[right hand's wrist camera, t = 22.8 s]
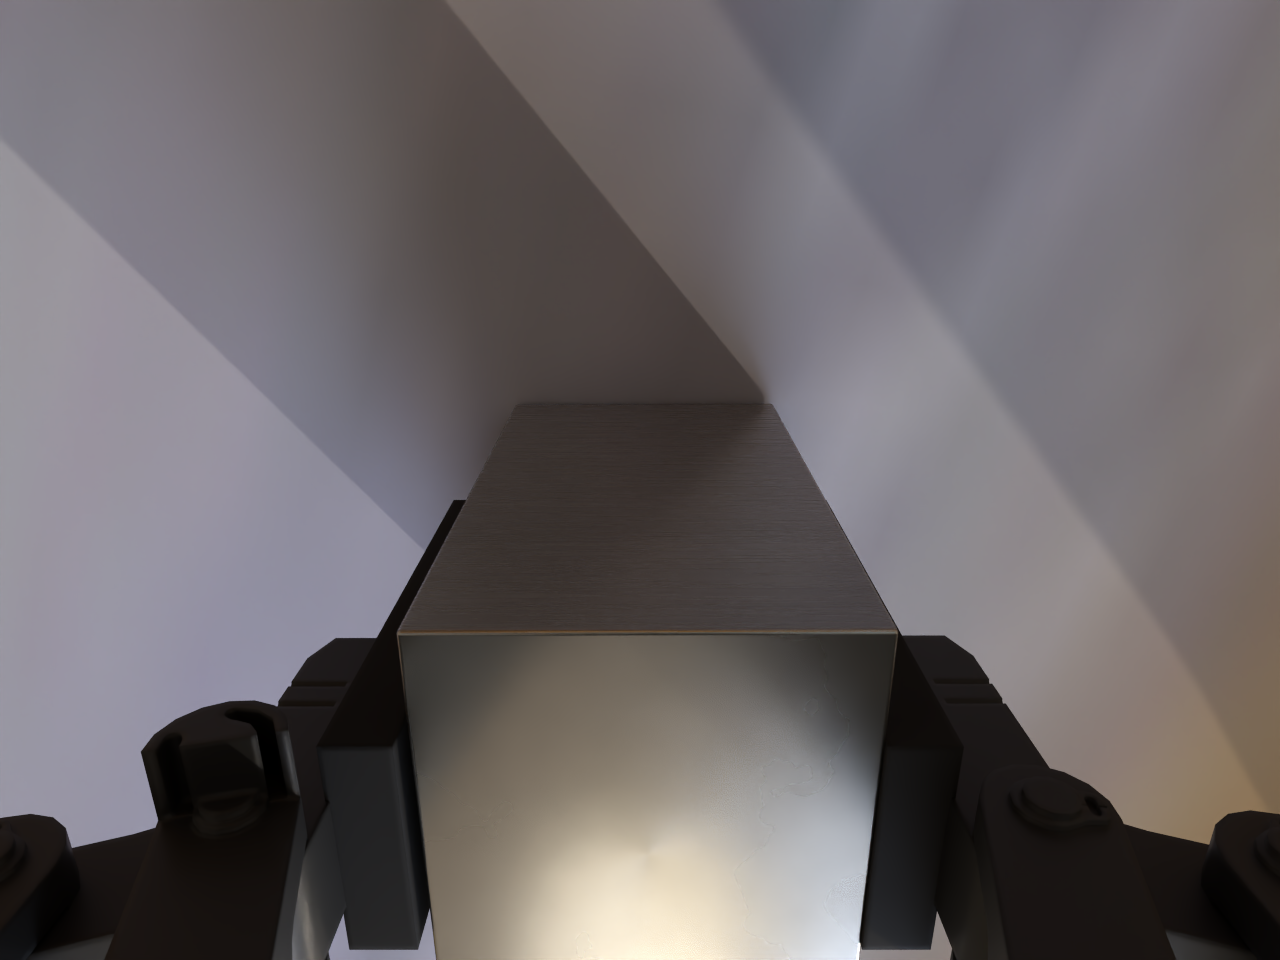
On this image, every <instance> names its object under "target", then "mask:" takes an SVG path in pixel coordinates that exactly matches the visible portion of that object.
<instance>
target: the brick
mask: <svg viewBox="0 0 1280 960" xmlns="http://www.w3.org/2000/svg"><path fill="white" fill-rule="evenodd" d="M897 639H898V630H897V628H896V626H895V624H894V622H893V620H892V619H891V617H890V615H889V613H888V611H887V610H886V608H885V606H884V604H883V602H882V601H881V599H880V597H879V595H878V593H877V592H876V590H875V588H874V586H873V584H872V583H871V581H870V579H869V577H868V575H867V574H866V572H865V570H864V568H863V566H862V565H861V563H860V561H859V559H858V557H857V556H856V554H855V552H854V550H853V548H852V547H851V545H850V543H849V541H848V539H847V538H846V536H845V534H844V532H843V530H842V529H841V527H840V525H839V523H838V521H837V520H836V518H835V516H834V514H833V512H832V511H831V509H830V507H829V505H828V503H827V502H826V500H825V498H824V496H823V494H822V493H821V491H820V489H819V487H818V485H817V484H816V482H815V480H814V478H813V476H812V475H811V473H810V471H809V469H808V467H807V466H806V464H805V462H804V460H803V458H802V457H801V455H800V453H799V451H798V449H797V448H796V446H795V444H794V442H793V440H792V439H791V437H790V435H789V433H788V431H787V430H786V428H785V426H784V424H783V422H782V421H781V419H780V417H779V415H778V413H777V412H776V410H775V408H774V406H773V405H772V404H596V405H516V406H515V408H514V410H513V412H512V414H511V416H510V418H509V419H508V421H507V423H506V425H505V427H504V429H503V431H502V433H501V435H500V437H499V438H498V440H497V442H496V444H495V446H494V448H493V450H492V452H491V454H490V456H489V458H488V459H487V461H486V463H485V465H484V467H483V469H482V471H481V473H480V475H479V477H478V478H477V480H476V482H475V484H474V486H473V488H472V490H471V492H470V494H469V496H468V498H467V499H466V501H465V503H464V505H463V507H462V509H461V511H460V513H459V515H458V517H457V518H456V520H455V522H454V524H453V526H452V528H451V530H450V532H449V534H448V536H447V537H446V539H445V541H444V543H443V545H442V547H441V549H440V551H439V553H438V555H437V557H436V558H435V560H434V562H433V564H432V566H431V568H430V570H429V572H428V574H427V576H426V577H425V579H424V581H423V583H422V585H421V587H420V589H419V591H418V593H417V595H416V597H415V598H414V600H413V602H412V604H411V606H410V608H409V610H408V612H407V614H406V616H405V617H404V619H403V621H402V623H401V625H400V627H399V629H398V631H397V641H398V649H399V657H400V665H401V674H402V682H403V690H404V698H405V707H406V715H407V723H408V731H409V740H410V748H411V756H412V764H413V772H414V781H415V789H416V797H417V805H418V814H419V822H420V830H421V838H422V847H423V855H424V863H425V871H426V880H427V888H428V896H429V904H430V913H431V921H432V929H433V937H434V946H435V954H436V960H859V956H860V947H861V937H862V929H863V921H864V912H865V904H866V896H867V887H868V879H869V871H870V863H871V854H872V846H873V838H874V829H875V821H876V813H877V805H878V796H879V788H880V780H881V771H882V763H883V755H884V747H885V739H886V731H887V722H888V714H889V706H890V697H891V689H892V681H893V672H894V664H895V656H896V647H897Z"/></svg>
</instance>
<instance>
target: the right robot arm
mask: <svg viewBox="0 0 1280 960" xmlns="http://www.w3.org/2000/svg"><path fill="white" fill-rule="evenodd" d="M465 501H466V500H454V501H453V503H452V504H451V506H450V508H449V510H448V512H447V513H446V515H445V517H444V519H443V520H442V522H441V524H440V526H439V528H438V529H437V531H436V533H435V535H434V537H433V538H432V540H431V542H430V544H429V546H428V547H427V549H426V551H425V553H424V554H423V556H422V558H421V560H420V562H419V563H418V565H417V567H416V569H415V571H414V572H413V574H412V576H411V578H410V580H409V581H408V583H407V585H406V587H405V588H404V590H403V592H402V594H401V596H400V597H399V599H398V601H397V603H396V605H395V606H394V608H393V610H392V612H391V613H390V615H389V617H388V619H387V621H386V622H385V624H384V626H383V628H382V630H381V631H380V633H379V635H378V637H377V638H335V639H334V640H333V641H331V642H330V643H328V644H327V645H326V646H324V647H323V648H321V649H320V650H319V651H317V652H316V653H314V654H313V655H312V656H310V657H309V658H307V660H306V661H305V663H304V664H303V666H302V667H301V669H300V670H299V672H298V673H297V675H296V676H295V678H294V679H293V680H292V685H291V687H288V688H287V689H286V691H285V692H284V694H283V695H282V697H281V698H280V700H279V701H278V706H275V705H271V704H267V703H263V702H259V701H229V702H225V703H220V704H216V705H212V706H208V707H203V708H201V709H198V710H196V711H194V712H191V713H189V714H187V715H184V716H182V717H180V718H178V719H175V720H174V721H173V722H171V723H170V724H168V725H167V726H166V727H164V728H163V729H161V730H160V731H159V732H157V733H156V734H154V735H153V737H152V738H151V739H150V741H149V742H148V743H147V745H146V746H145V747H144V748H143V750H142V751H141V754H142V758H143V762H144V766H145V770H146V774H147V778H148V782H149V786H150V790H151V793H152V797H153V801H154V805H155V809H156V813H157V817H158V823H157V825H156V828H153V829H150V830H146V831H143V832H140V833H136V834H133V835H128V836H124V837H119V838H115V839H110V840H106V841H101V842H97V843H93V844H88V845H84V846H79V847H75V848H72V847H71V844H70V841H69V837H68V834H67V831H66V828H65V827H64V826H63V825H62V824H60V823H59V822H58V821H57V820H56V819H54V818H53V817H47V816H41V815H34V814H27V815H19V816H12V817H4V818H0V960H330V958H329V952H328V951H329V949H330V946H331V943H332V941H333V938H334V936H335V933H336V931H337V928H338V926H339V923H340V921H341V918H342V916H343V913H344V919H345V925H346V931H347V937H348V943H349V950H418V947H419V944H420V940H421V937H422V933H423V930H424V926H425V923H426V919H427V916H428V912H429V909H430V904H429V896H428V888H427V880H426V871H425V863H424V855H423V847H422V838H421V830H420V822H419V814H418V805H417V797H416V789H415V781H414V772H413V764H412V756H411V748H410V740H409V731H408V723H407V715H406V707H405V698H404V690H403V682H402V674H401V665H400V657H399V649H398V641H397V631H398V629H399V627H400V625H401V623H402V621H403V619H404V617H405V616H406V614H407V612H408V610H409V608H410V606H411V604H412V602H413V600H414V598H415V597H416V595H417V593H418V591H419V589H420V587H421V585H422V583H423V581H424V579H425V577H426V576H427V574H428V572H429V570H430V568H431V566H432V564H433V562H434V560H435V558H436V557H437V555H438V553H439V551H440V549H441V547H442V545H443V543H444V541H445V539H446V537H447V536H448V534H449V532H450V530H451V528H452V526H453V524H454V522H455V520H456V518H457V517H458V515H459V513H460V511H461V509H462V507H463V505H464V503H465ZM826 502H827V501H826ZM827 503H828V502H827ZM828 505H829V504H828ZM829 507H830V506H829ZM830 509H831V508H830ZM831 511H832V510H831ZM832 512H833V511H832ZM833 514H834V513H833ZM834 516H835V515H834ZM835 518H836V517H835ZM836 520H837V518H836ZM837 521H838V520H837ZM838 523H839V522H838ZM839 525H840V524H839ZM840 527H841V526H840ZM841 529H842V527H841ZM842 530H843V529H842ZM843 532H844V531H843ZM844 534H845V533H844ZM845 536H846V535H845ZM846 538H847V536H846ZM847 539H848V538H847ZM848 541H849V540H848ZM849 543H850V542H849ZM850 545H851V544H850ZM851 547H852V545H851ZM852 548H853V547H852ZM853 550H854V549H853ZM854 552H855V551H854ZM855 554H856V552H855ZM856 556H857V554H856ZM857 557H858V556H857ZM858 559H859V558H858ZM859 561H860V560H859ZM860 563H861V561H860ZM861 565H862V563H861ZM862 566H863V565H862ZM863 568H864V567H863ZM864 570H865V569H864ZM865 572H866V570H865ZM866 574H867V572H866ZM867 575H868V574H867ZM868 577H869V576H868ZM869 579H870V578H869ZM870 581H871V579H870ZM871 583H872V581H871ZM872 584H873V583H872ZM873 586H874V585H873ZM874 588H875V586H874ZM875 590H876V588H875ZM876 592H877V590H876ZM877 593H878V592H877ZM878 595H879V594H878ZM879 597H880V595H879ZM880 599H881V597H880ZM881 601H882V599H881ZM882 602H883V601H882ZM883 604H884V603H883ZM884 606H885V604H884ZM885 608H886V606H885ZM886 610H887V608H886ZM887 611H888V610H887ZM888 613H889V612H888ZM889 615H890V613H889ZM890 617H891V615H890ZM891 619H892V617H891ZM892 620H893V619H892ZM893 622H894V620H893ZM894 624H895V622H894ZM895 626H896V624H895ZM896 628H897V626H896ZM897 630H898V639H897V647H896V656H895V664H894V672H893V681H892V689H891V697H890V706H889V714H888V722H887V731H886V739H885V747H884V755H883V763H882V771H881V780H880V788H879V796H878V805H877V813H876V821H875V829H874V838H873V846H872V854H871V863H870V871H869V879H868V887H867V896H866V904H865V912H864V921H863V929H862V937H861V947H862V950H931V944H932V938H933V932H934V926H935V920H936V914H937V912H938V914H939V917H940V919H941V922H942V924H943V927H944V929H945V932H946V934H947V937H948V939H949V942H950V944H951V947H952V952H951V958H950V960H1280V814H1273V813H1266V812H1258V811H1251V810H1250V811H1244V812H1237V813H1231V814H1227V815H1226V816H1225V817H1224V818H1223V819H1221V820H1220V821H1219V822H1218V823H1217V824H1216V825H1215V828H1214V831H1213V834H1212V838H1211V841H1210V844H1209V845H1208V844H1203V843H1199V842H1194V841H1190V840H1185V839H1181V838H1176V837H1172V836H1168V835H1163V834H1159V833H1154V832H1150V831H1146V830H1142V829H1139V828H1136V827H1132V826H1129V825H1125V824H1123V821H1122V819H1121V818H1120V816H1119V815H1118V813H1117V812H1116V810H1115V809H1114V807H1113V806H1112V804H1111V803H1110V801H1109V800H1108V799H1106V798H1105V797H1104V796H1103V795H1101V794H1100V793H1099V792H1098V791H1096V790H1095V789H1094V788H1093V787H1092V786H1090V785H1089V784H1087V783H1085V782H1083V781H1081V780H1079V779H1077V778H1075V777H1073V776H1071V775H1069V774H1067V773H1065V772H1062V771H1058V770H1054V769H1050V768H1049V766H1048V765H1047V764H1046V762H1045V761H1044V759H1043V758H1042V756H1041V755H1040V753H1039V752H1038V750H1037V749H1036V747H1035V746H1034V744H1033V743H1032V742H1031V740H1030V739H1029V737H1028V736H1027V734H1026V733H1025V731H1024V730H1023V728H1022V727H1021V725H1020V724H1019V722H1018V721H1017V719H1016V718H1015V717H1014V715H1013V714H1012V712H1011V711H1010V709H1009V708H1008V706H1007V705H1006V704H1003V703H1002V697H1001V696H1000V695H999V693H998V692H997V690H996V689H995V687H994V686H993V684H989V678H988V677H987V675H986V674H985V673H984V671H983V670H982V668H981V667H980V665H979V664H978V662H977V661H976V659H975V658H974V656H973V655H971V654H970V653H968V652H967V651H966V650H964V649H963V648H961V647H960V646H959V645H957V644H956V643H954V642H953V641H952V640H950V639H949V638H947V637H946V636H902V635H901V633H900V631H899V629H898V628H897Z"/></svg>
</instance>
